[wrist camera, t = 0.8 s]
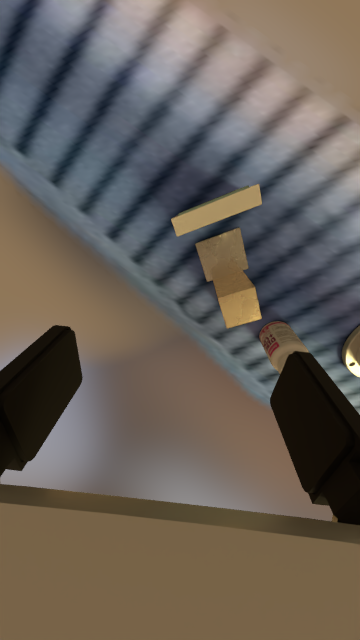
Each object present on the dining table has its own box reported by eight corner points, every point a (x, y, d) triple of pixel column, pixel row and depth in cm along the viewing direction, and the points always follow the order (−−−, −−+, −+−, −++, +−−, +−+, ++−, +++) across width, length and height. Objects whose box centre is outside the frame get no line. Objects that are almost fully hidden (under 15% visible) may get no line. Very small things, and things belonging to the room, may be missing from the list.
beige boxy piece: (253, 293, 30) (268, 316, 24) (214, 305, 31) (220, 330, 25) (238, 227, 26) (253, 234, 20) (195, 243, 27) (196, 254, 21)
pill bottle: (259, 321, 32) (279, 356, 25) (292, 318, 31) (322, 353, 24) (257, 347, 34) (276, 386, 27) (288, 345, 34) (316, 384, 26)
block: (244, 204, 25) (262, 204, 19) (180, 229, 26) (177, 236, 20) (241, 187, 24) (258, 181, 18) (175, 214, 26) (170, 217, 20)
